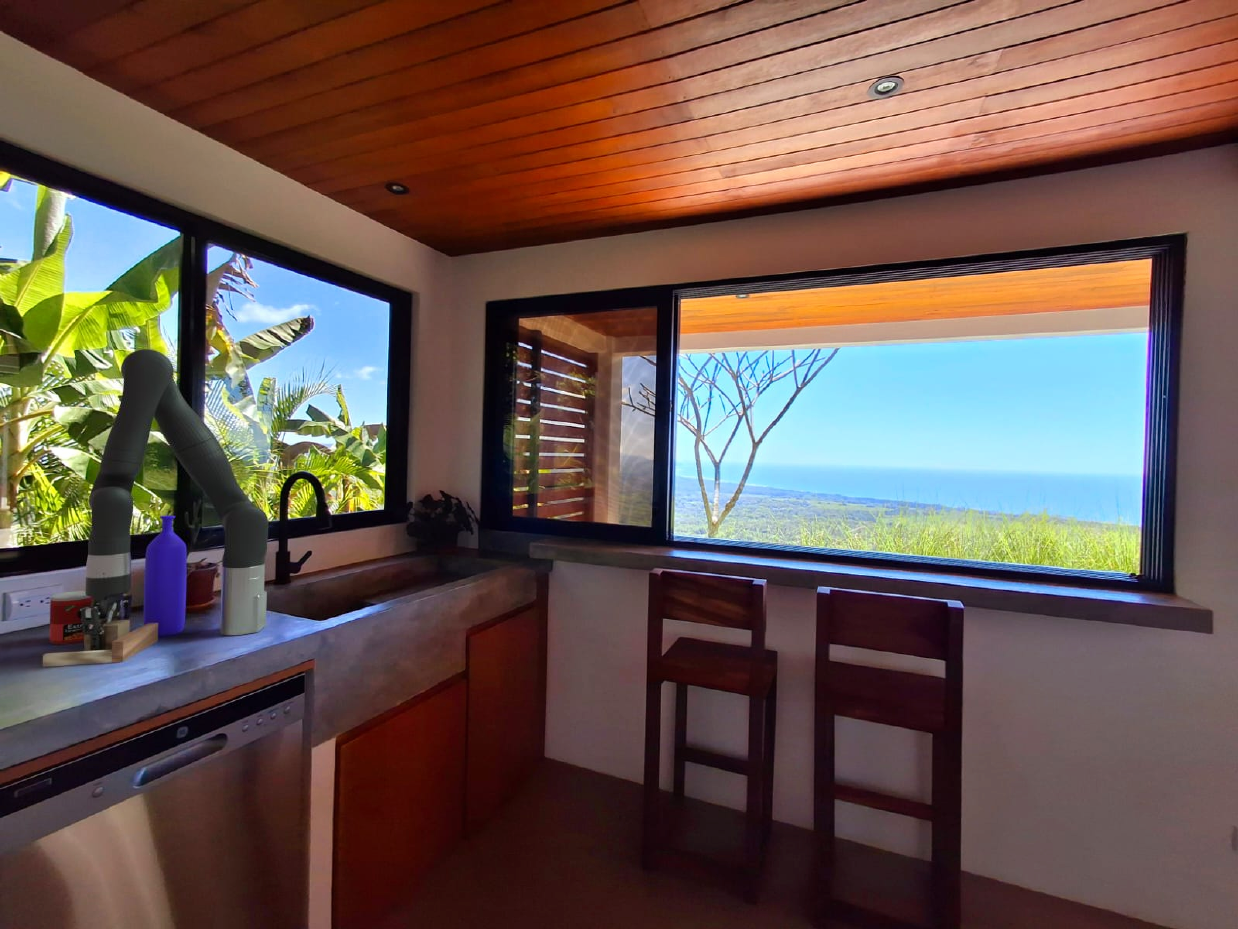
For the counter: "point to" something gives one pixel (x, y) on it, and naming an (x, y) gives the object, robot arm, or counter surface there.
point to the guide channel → (119, 652)
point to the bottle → (165, 581)
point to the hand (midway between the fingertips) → (106, 646)
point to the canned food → (67, 616)
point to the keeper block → (111, 633)
